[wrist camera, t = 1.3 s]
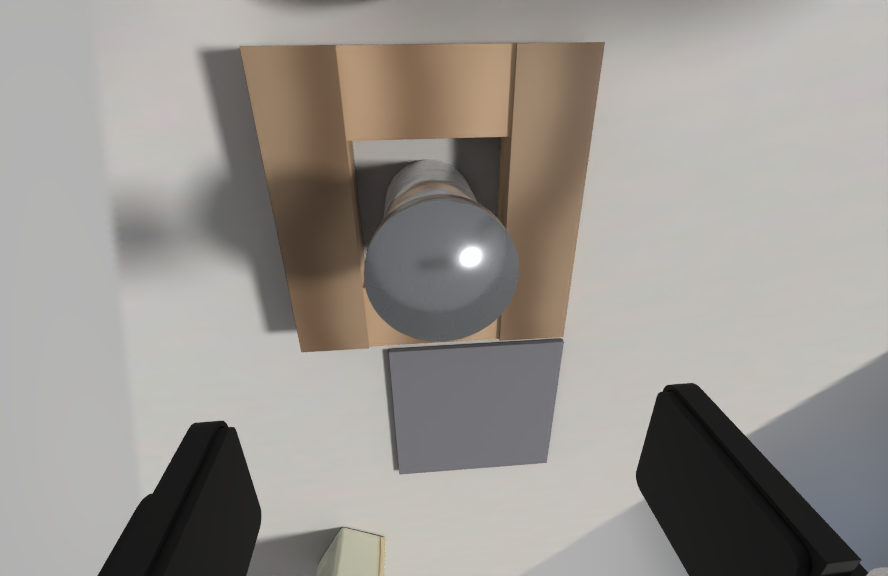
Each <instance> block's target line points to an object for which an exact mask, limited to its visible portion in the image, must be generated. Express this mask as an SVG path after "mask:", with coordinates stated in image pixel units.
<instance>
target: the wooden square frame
mask: <svg viewBox="0 0 888 576" xmlns="http://www.w3.org/2000/svg"><path fill="white" fill-rule="evenodd" d="M604 44H605V42H585V43H504V44H414V45H316V46H240V51H241V56H242V61H243V66H244V71H245V76H246V81H247V86H248V90H249V95H250V100H251V105H252V110H253V115H254V120H255V125H256V130H257V135H258V140H259V145H260V150H261V155H262V160H263V165H264V170H265V175H266V179H267V184H268V189H269V194H270V199H271V204H272V209H273V214H274V219H275V224H276V229H277V234H278V239H279V244H280V249H281V254H282V259H283V264H284V268H285V273H286V278H287V283H288V288H289V293H290V298H291V303H292V308H293V313H294V318H295V323H296V328H297V333H298V338H299V343H300V348H301V352H314V351H331V350H348V349H365V348H369V346H383V345H400V344H417V343H434V342H432V341H424V340H419V339H415V338H412V337H409V336H407V335H404V334H402V333H400V332H398V331H397V330H395V329H394V328H392V327H391V326H389V325H388V324H387V323H386V322H385V321H384V320H383V319H382V318H381V317H380V316H379V315H378V314H377V312H376V311H375V309H374V308H373V306H372V304H371V302H370V301H369V298H368V295H367V292H366V289H365V283H364V266H365V258H364V249H363V239H362V230H361V220H360V211H359V201H358V192H357V182H356V173H355V163H354V154H353V145H352V141H361V140H399V139H437V138H475V137H501V143H500V164H499V185H498V206H497V218H498V219H499V220H500V221H501V223H502V224H503V226H504V227H505V229H506V230H507V232H508V234H509V236H510V237H511V239H512V241H513V243H514V245H515V248H516V251H517V255H518V261H519V277H518V284H517V287H516V290H515V293H514V295H513V297H512V300H511V301H510V303H509V305H508V306H507V308H506V309H505V310H504V312H503V313H502V314H501V315H500V316H499V317H498V318H497V319H496V320H495V321H494V322H493V323H491V324H490V325H489V326H488V327H486V328H484V329H483V330H481V331H479V332H477V333H475V334H473V335H471V336H468V337H465V338H462V339H458V340H453V341H468V340H485V339H499V340H500V341H501V340H518V339H535V338H552V337H563V335H564V328H565V321H566V314H567V307H568V299H569V292H570V285H571V278H572V271H573V264H574V257H575V250H576V243H577V236H578V228H579V221H580V214H581V207H582V200H583V193H584V186H585V179H586V172H587V165H588V157H589V150H590V143H591V136H592V129H593V122H594V115H595V108H596V101H597V94H598V87H599V79H600V72H601V65H602V58H603V51H604ZM445 342H451V341H445Z"/></svg>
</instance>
